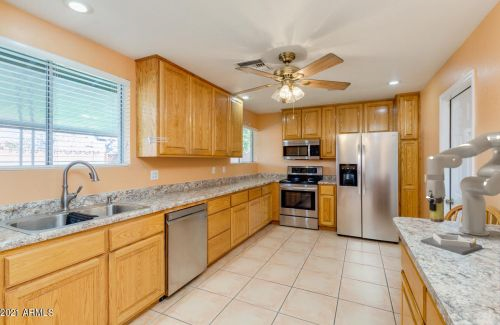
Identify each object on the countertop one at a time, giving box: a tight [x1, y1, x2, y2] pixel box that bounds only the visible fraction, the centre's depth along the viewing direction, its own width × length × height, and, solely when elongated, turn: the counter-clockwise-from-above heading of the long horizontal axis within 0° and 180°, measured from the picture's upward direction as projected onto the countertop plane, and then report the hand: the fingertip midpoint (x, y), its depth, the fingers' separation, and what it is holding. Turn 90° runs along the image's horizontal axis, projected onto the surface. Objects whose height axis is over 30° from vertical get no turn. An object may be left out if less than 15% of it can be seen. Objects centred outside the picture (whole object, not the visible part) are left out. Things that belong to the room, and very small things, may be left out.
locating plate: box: [420, 232, 483, 255], centre depth 115 cm, size 17×17×4 cm
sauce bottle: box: [429, 197, 445, 223], centre depth 131 cm, size 6×6×20 cm
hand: (436, 209), depth 131 cm, fingers closed on sauce bottle, 6 cm apart
